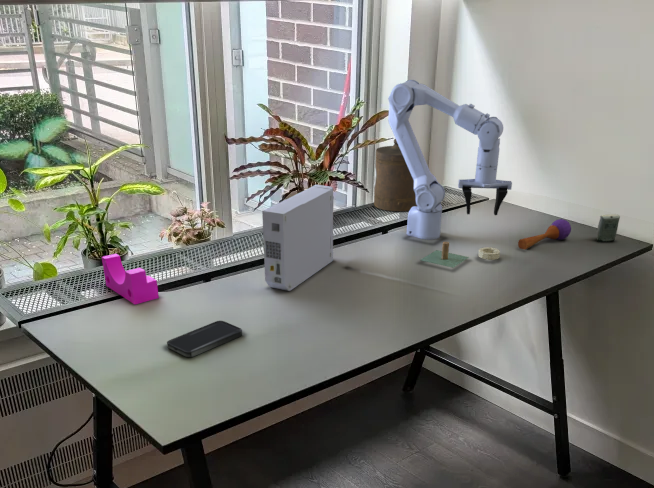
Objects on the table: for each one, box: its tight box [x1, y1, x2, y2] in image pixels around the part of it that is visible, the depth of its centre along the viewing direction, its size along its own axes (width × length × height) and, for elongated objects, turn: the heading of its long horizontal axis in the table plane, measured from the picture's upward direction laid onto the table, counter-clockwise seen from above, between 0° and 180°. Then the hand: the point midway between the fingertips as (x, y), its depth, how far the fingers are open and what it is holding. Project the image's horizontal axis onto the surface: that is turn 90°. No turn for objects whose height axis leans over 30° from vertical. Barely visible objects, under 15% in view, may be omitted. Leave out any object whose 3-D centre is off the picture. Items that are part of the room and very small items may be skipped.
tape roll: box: [477, 246, 501, 261], centre depth 201 cm, size 6×6×2 cm
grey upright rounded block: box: [596, 213, 621, 243], centre depth 215 cm, size 6×5×8 cm
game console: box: [261, 184, 334, 292], centre depth 184 cm, size 6×27×20 cm, turn 155°
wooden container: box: [373, 138, 417, 212], centre depth 241 cm, size 15×15×22 cm
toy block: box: [101, 253, 160, 305], centre depth 175 cm, size 15×6×8 cm, turn 41°
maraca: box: [517, 218, 572, 251], centre depth 213 cm, size 6×6×20 cm
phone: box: [166, 320, 243, 358], centre depth 154 cm, size 8×1×15 cm
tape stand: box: [420, 241, 470, 269], centre depth 198 cm, size 10×10×6 cm
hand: (481, 213), depth 207 cm, fingers open, 7 cm apart
